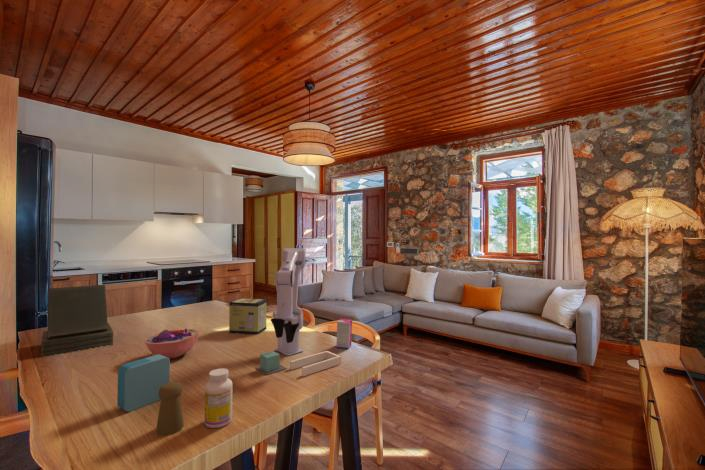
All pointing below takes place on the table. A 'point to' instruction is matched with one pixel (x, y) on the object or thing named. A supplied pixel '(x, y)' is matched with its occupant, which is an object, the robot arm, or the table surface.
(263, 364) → the block
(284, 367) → the mat
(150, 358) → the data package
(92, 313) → the dark stepped-base plaque
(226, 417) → the supplement bottle
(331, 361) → the frame
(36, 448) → the table surface
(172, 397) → the brown pepper mill
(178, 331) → the cell model
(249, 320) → the protein box
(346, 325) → the supplement box
